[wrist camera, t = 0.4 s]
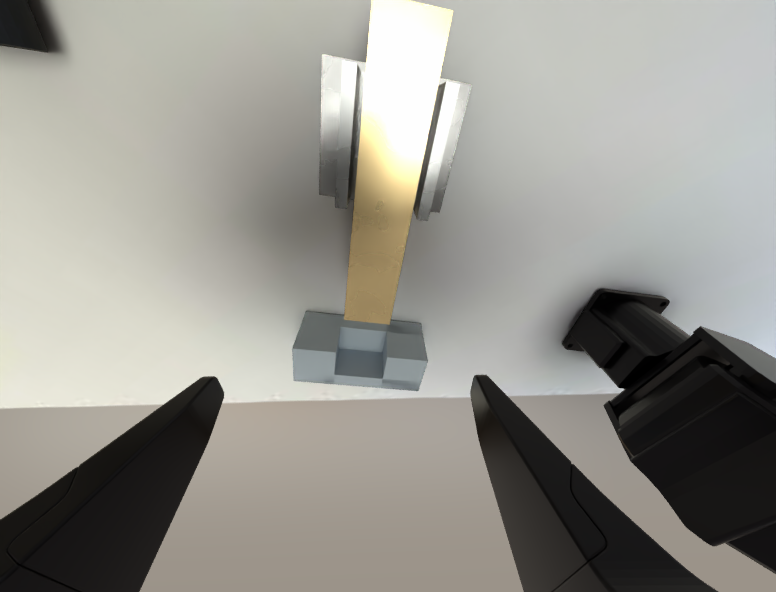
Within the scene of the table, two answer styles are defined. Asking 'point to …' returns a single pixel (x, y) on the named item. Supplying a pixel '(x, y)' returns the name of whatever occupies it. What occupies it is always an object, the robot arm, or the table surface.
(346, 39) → the table surface
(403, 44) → the tan square rod
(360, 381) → the slate-blue socket
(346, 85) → the grey sleeve
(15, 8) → the pipe connector
